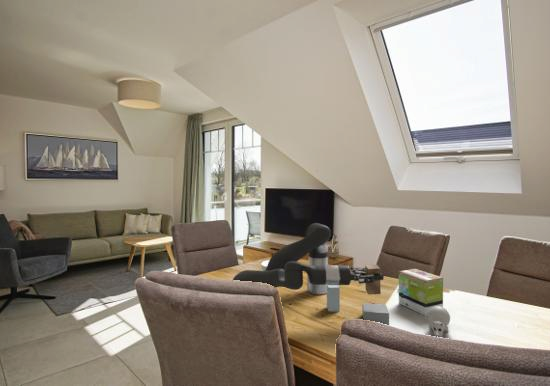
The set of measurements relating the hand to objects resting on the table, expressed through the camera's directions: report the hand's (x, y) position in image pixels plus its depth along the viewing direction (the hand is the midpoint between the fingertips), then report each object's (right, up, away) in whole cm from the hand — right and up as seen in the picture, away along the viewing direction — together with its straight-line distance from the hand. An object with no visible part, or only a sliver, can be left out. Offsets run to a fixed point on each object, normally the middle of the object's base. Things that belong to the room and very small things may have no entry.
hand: (380, 274), depth 126 cm
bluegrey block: (-16, -18, +12) cm, 27 cm away
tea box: (+21, -17, +13) cm, 30 cm away
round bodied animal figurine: (+17, -18, -10) cm, 27 cm away
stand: (+22, -17, +34) cm, 44 cm away
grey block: (-2, -18, +1) cm, 18 cm away
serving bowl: (-38, -16, +65) cm, 77 cm away
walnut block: (-3, -7, +1) cm, 7 cm away
